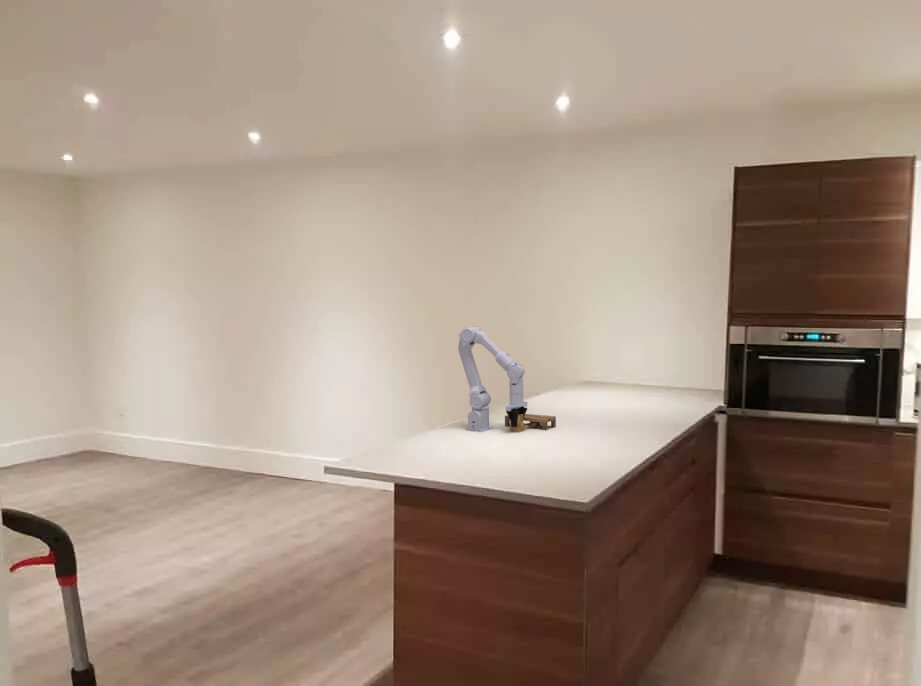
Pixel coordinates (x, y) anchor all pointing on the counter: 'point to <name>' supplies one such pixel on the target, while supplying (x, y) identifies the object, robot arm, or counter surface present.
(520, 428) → the tool
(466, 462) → the counter surface
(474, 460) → the counter surface
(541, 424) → the plate
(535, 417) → the shelf
